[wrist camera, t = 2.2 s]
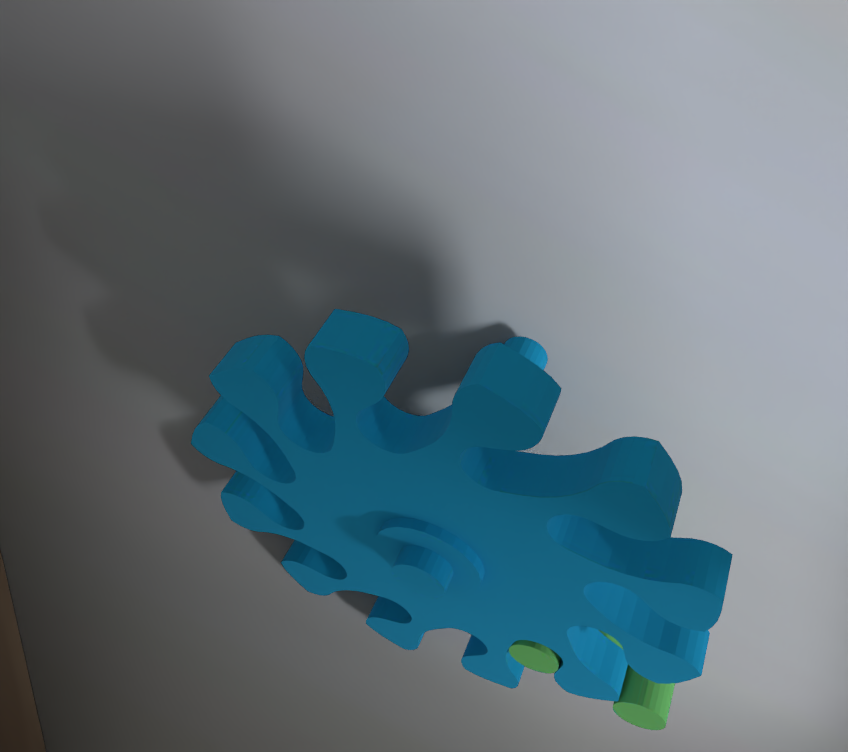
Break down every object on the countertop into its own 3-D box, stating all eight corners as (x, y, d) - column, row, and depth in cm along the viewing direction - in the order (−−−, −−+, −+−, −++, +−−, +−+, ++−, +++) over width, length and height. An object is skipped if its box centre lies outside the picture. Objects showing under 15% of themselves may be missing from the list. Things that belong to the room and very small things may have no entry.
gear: (98, 461, 16) (382, 273, 9) (253, 279, 20) (547, 36, 12) (463, 744, 19) (888, 782, 12) (538, 546, 23) (902, 481, 16)
